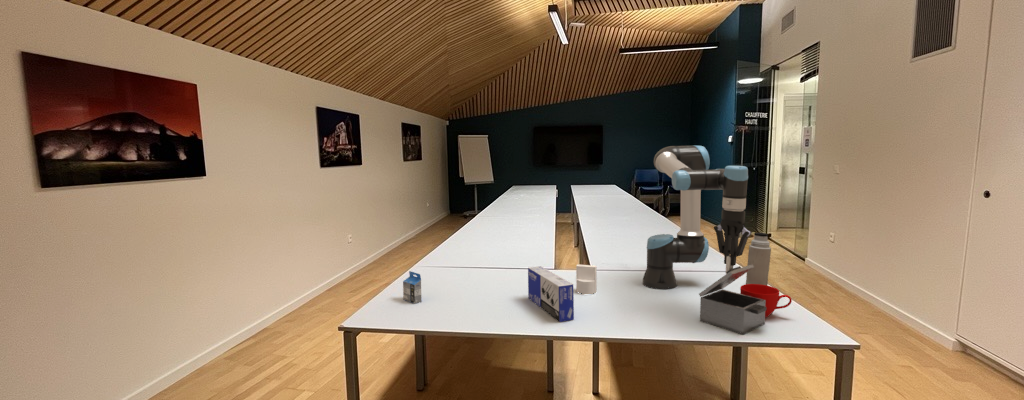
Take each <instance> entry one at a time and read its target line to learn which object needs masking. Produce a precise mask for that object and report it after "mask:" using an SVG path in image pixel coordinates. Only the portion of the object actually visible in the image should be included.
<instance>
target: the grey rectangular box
mask: <svg viewBox="0 0 1024 400" xmlns="http://www.w3.org/2000/svg"><path fill="white" fill-rule="evenodd" d="M765 304H766V300H764V299H760V298H756V297H752V296H747V295H743V294H741V293H738V292H735V291H734V292H733V291H731V290H726V289H724V288H723V289H721V290H718V291H715V292H713V293H710V294H707V295H704V296H702V297H700V304H699V305H700V307H699V321H700V322H702V323H705V324H708V325H712V326H714V327H717V328H721V329H723V330H728V331H730V332H733V333H736V334H740V335H746V334H748V333H750V332H751V331H754V330H756V329H757V328H760V327H762V326H764V325H765V324H766V323H765V322H766V317H765V311H766V307H765Z"/></svg>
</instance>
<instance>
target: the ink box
mask: <svg viewBox="0 0 1024 400" xmlns="http://www.w3.org/2000/svg"><path fill="white" fill-rule="evenodd" d="M527 276H528V277H527V281H528V282H527V286H528V288H527V289H528V291H527V292H528V299H529V300H530V299H531V300H532V302H533V303H534V304H535V303H536V304H535V305H537V307H539V308H540V307H541V310H543V311H545V312H546V313H547V315H549V316H551V317H552V318H553V319H555V320H556V321H557V322H560V323H562V322H567V321H568V322H570V321H573V320H575V315H574V314H575V313H574V312H575V311H574V309H575V308H574V305H575V304H574V301H575V299H574V295H575V294H574V283H572V282H570V281H569V280H567V279H565V278H563V277H561V276H559V275H558V274H556V273H554V272H553V271H550V270H549V269H547V268H544V266H542V265H540V266H532V267H528V268H527ZM531 300H530V301H531Z"/></svg>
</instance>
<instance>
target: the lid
mask: <svg viewBox="0 0 1024 400" xmlns="http://www.w3.org/2000/svg"><path fill="white" fill-rule="evenodd" d="M752 268H754V266H753V265H752V264H751V265H748V266H747V265H745V266H743V267H741V266H735V267H733V269H730V270H729V271H727V272H726V271H725V274H724V275H723V276H722V277H720V278H719V279H718V280H716V281H714V282H713V283H711V285H709V286H708V287H706V288H705V289H704V290H702V291H701V292H699V293H698V296H699V297H700V298H701V297H703V296H706V295H708V294H711V293H714V292H717V291H719V290H722V289H723V290H724V288H726V287H728V286H729V285H730V284H732V283H733V282H735V281H736V280H738V279H739V278H741V277H742V276H744V275H745V274H747V272H748V271H749V270H751V269H752ZM726 273H727V274H726Z"/></svg>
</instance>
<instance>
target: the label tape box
mask: <svg viewBox="0 0 1024 400" xmlns="http://www.w3.org/2000/svg"><path fill="white" fill-rule="evenodd" d="M408 273H409V276H408V277H407V278H405V279H404V280H403V281H402V287H403V288H402V291H403V293H402V296H403V297H402V299H403V301H405V302H410V303H412V304H419V302H420V303H422V301H423V300H422V278H421V274H420V273H417V272H414V271H410V270H409V271H408Z"/></svg>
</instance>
